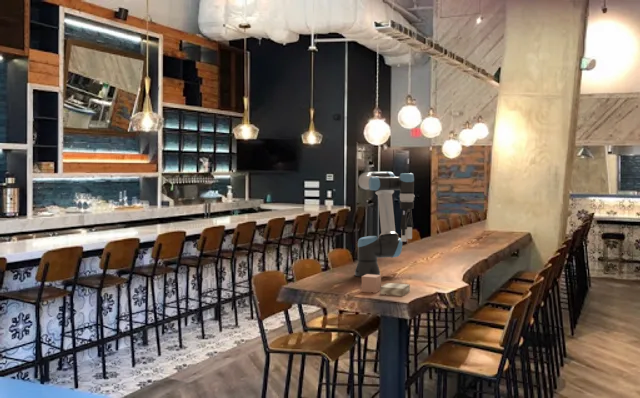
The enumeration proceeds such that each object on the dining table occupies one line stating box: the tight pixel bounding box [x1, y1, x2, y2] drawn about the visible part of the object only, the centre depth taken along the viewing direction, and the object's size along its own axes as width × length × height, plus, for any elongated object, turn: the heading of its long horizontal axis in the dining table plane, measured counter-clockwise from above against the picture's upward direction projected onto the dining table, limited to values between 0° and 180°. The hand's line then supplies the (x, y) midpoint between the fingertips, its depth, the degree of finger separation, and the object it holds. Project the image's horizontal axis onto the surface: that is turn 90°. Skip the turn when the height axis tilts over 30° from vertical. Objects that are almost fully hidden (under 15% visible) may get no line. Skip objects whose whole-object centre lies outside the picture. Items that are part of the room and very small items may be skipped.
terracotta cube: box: [361, 274, 382, 294], centre depth 329 cm, size 8×8×8 cm
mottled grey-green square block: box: [380, 282, 411, 297], centre depth 324 cm, size 12×12×4 cm
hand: (406, 240), depth 344 cm, fingers open, 13 cm apart
